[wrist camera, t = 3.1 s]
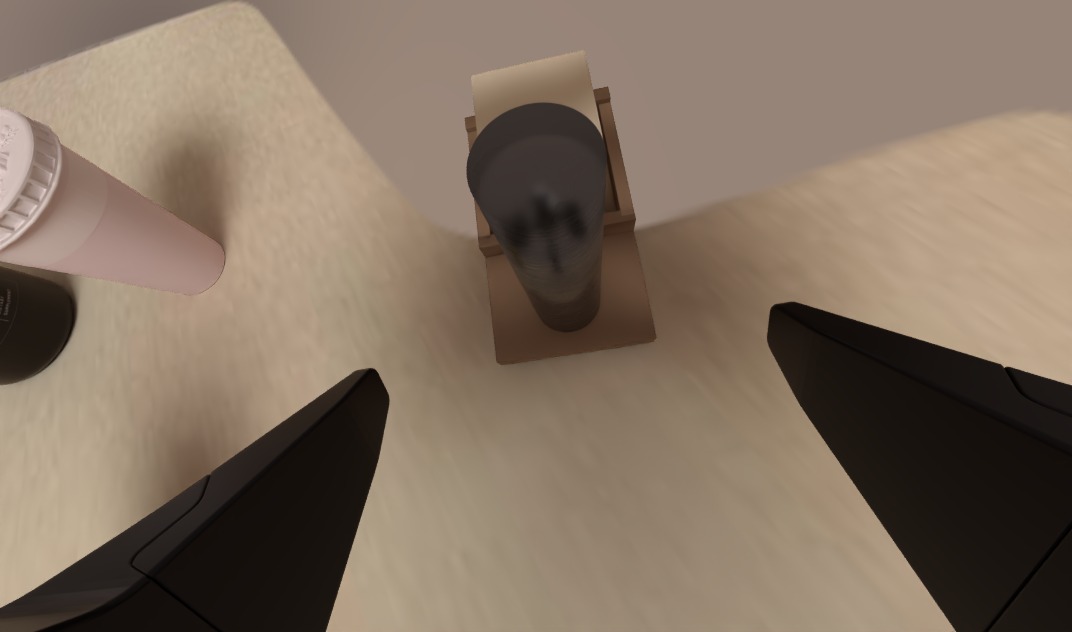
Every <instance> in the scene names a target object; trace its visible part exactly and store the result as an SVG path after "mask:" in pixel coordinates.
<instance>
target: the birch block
mask: <svg viewBox="0 0 1072 632" xmlns="http://www.w3.org/2000/svg"><path fill="white" fill-rule="evenodd" d="M471 81H472V90H473V101H474V110H475V119H476V128H477V137H478V135H479V134H480V133H481V131H482V130H483V129H484V128H485V127H486V126H487V125H488V124H489V123H490V122H491V121H492V120H494V119H495V118H496V117H498V116H499V115H501V114H503V113H504V112H506V111H508V110H510V109H513V108H515V107H518V106H522V105H525V104H531V103H541V102H546V103H556V104H561V105H565V106H568V107H571V108H573V109H575V110H577V111H579V112H580V113H582V114H584V115H585V116H586V117H587V118H589V119H590V120H591V121H592V122H593V124H594V125H595V126H596V127H597V129H598V130H599V132H600V133H601V136H602V131H601V126H600V121H599V117H598V112H597V107H596V102H595V97H594V92H593V88H592V83H591V78H590V73H589V68H588V64H587V59H586V54H585V50H580V51H576V52H572V53H567V54H563V55H559V56H555V57H550V58H546V59H541V60H537V61H532V62H528V63H524V64H520V65H515V66H511V67H506V68H502V69H498V70H493V71H489V72H485V73H480V74H476V75H471ZM602 138H603V136H602Z"/></svg>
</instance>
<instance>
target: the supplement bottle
mask: <svg viewBox="0 0 1072 632" xmlns="http://www.w3.org/2000/svg"><path fill="white" fill-rule="evenodd" d="M72 320H73V308H72V303H71V300H70V298H69V296H68V294H67V293H66V292H65V290H64V289H63V288H61V287H60V286H59V285H58V284H56V283H54V282H52V281H50V280H47V279H44V278H40V277H37V276H33V275H30V274H26V273H23V272H19V271H15V270H12V269H8V268H4V267H1V266H0V385H7V384H13V383H16V382H20V381H22V380H25V379H27V378H29V377H31V376H33V375H35V374H36V373H38V372H39V371H41V370H42V369H43V368H45V367H46V366H47V365H48V364H49V363H50V362H51V361H52V360H53V359H54V358H55V357H56V355H57V354H58V353H59V351H60V350H61V348H62V347H63V345H64V343H65V342H66V340H67V337H68V335H69V332H70V329H71V326H72Z"/></svg>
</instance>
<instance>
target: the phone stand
mask: <svg viewBox="0 0 1072 632" xmlns="http://www.w3.org/2000/svg"><path fill="white" fill-rule="evenodd" d="M593 92H594V97H595V102H596V107H597V112H598V117H599V121H600V126H601V131H602V136H603V138H602V136H601V133H600V132H599V130H598V129H597V127H596V126H595V125H594V124H593V122H592V121H591V120H590V119H589V118H587V117H586V116H585V115H584V114H582V113H580V112H579V111H577V110H575V109H573V108H571V107H568V106H565V105H561V104H556V103H546V102H541V103H531V104H525V105H522V106H518V107H515V108H513V109H510V110H508V111H506V112H504V113H503V114H501V115H499V116H498V117H496V118H495V119H494V120H492V121H491V122H490V123H489V124H488V125H487V126H486V127H485V128H484V129H483V130H482V131H481V133H480V134H479V135H478V137H477V128H476V119H475V116H471V117H467V118H465V125H466V130H467V132H468V141H469V151H470V153H469V157H468V161H467V180H468V185H469V188H470V191H471V193H472V195H473V197H474V201H475V210H476V220H477V230H478V240H479V248H480V250H481V251H482V253H483V254H484V256H485V257H486V265H487V275H488V284H489V294H490V303H491V313H492V323H493V332H494V342H495V351H496V361H497V363H499V364H500V365H505V364H511V363H518V362H524V361H531V360H538V359H544V358H551V357H557V356H564V355H570V354H577V353H583V352H590V351H596V350H603V349H610V348H616V347H623V346H629V345H636V344H642V343H649V342H654V340H655V339H656V333H655V329H654V324H653V319H652V315H651V310H650V305H649V301H648V296H647V291H646V287H645V282H644V277H643V273H642V268H641V263H640V259H639V254H638V250H637V245H636V240H635V236H634V226H635V220H636V218H635V213H634V209H633V204H632V200H631V195H630V190H629V186H628V181H627V177H626V172H625V167H624V163H623V158H622V154H621V149H620V145H619V140H618V136H617V131H616V126H615V122H614V117H613V113H612V108H611V104H610V93H609V89H608V87H604V88H599V89H595V90H593Z"/></svg>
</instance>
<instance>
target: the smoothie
mask: <svg viewBox="0 0 1072 632" xmlns="http://www.w3.org/2000/svg"><path fill="white" fill-rule="evenodd" d="M0 261H2V262H7V263H12V264H17V265H22V266H28V267H35V268H40V269H46V270H52V271H57V272H63V273H68V274H74V275H79V276H85V277H90V278H96V279H102V280H107V281H113V282H118V283H124V284H129V285H135V286H140V287H146V288H152V289H157V290H163V291H168V292H174V293H179V294H185V295H195V294H199V293H201V292H203V291H205V290H207V289H208V288H210V287H211V286H212V285H213V284H214V283H215V282H216V281H217V279H218V278H219V276H220V274H221V273H222V270H223V267H224V262H225V256H224V251H223V249H222V247H221V246H220V244H219V243H217V242H216V241H214V240H213V239H211V238H210V237H208V236H206V235H205V234H203V233H202V232H200V231H198V230H197V229H195V228H194V227H192V226H191V225H189V224H187V223H186V222H184V221H183V220H181V219H179V218H178V217H176V216H175V215H173V214H172V213H170V212H168V211H167V210H165V209H164V208H162V207H160V206H159V205H157V204H156V203H154V202H153V201H151V200H149V199H148V198H146V197H145V196H143V195H141V194H140V193H138V192H137V191H135V190H134V189H132V188H130V187H129V186H127V185H126V184H124V183H122V182H121V181H119V180H118V179H116V178H115V177H113V176H111V175H110V174H108V173H107V172H105V171H103V170H102V169H100V168H99V167H97V166H96V165H94V164H93V163H91V162H90V161H88V160H86V159H85V158H83V157H81V156H80V155H78V154H77V153H75V152H73V151H72V150H70V149H68V148H67V147H65V146H64V145H62V144H60V141H59V138H58V136H57V135H56V134H55V133H54V132H53V131H52V130H51V128H50V127H48V126H46V125H44V124H42V123H40V122H37V121H35V120H31V119H30V118H28V117H26V116H24V115H22V114H20V113H19V112H17V111H15V110H12V109H9V108H4V107H0Z"/></svg>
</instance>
